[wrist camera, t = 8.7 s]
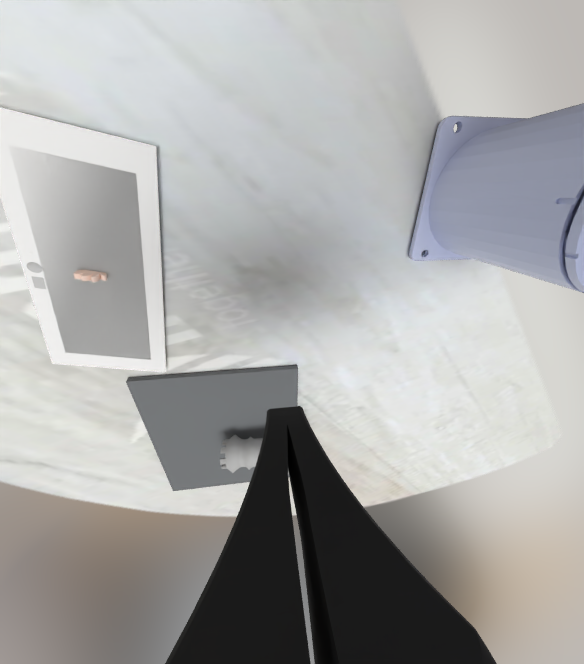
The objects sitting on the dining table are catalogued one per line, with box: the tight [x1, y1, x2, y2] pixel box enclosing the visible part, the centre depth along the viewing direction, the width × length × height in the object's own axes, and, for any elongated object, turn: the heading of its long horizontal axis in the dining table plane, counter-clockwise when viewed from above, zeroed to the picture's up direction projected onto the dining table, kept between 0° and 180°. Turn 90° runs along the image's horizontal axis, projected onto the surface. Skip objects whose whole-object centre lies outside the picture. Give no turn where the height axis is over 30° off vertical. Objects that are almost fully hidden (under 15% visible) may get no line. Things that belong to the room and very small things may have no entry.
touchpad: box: [0, 107, 166, 372], centre depth 16 cm, size 8×15×2 cm, turn 168°
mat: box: [126, 365, 298, 491], centre depth 25 cm, size 14×16×1 cm
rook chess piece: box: [220, 435, 289, 474], centre depth 23 cm, size 4×4×8 cm
